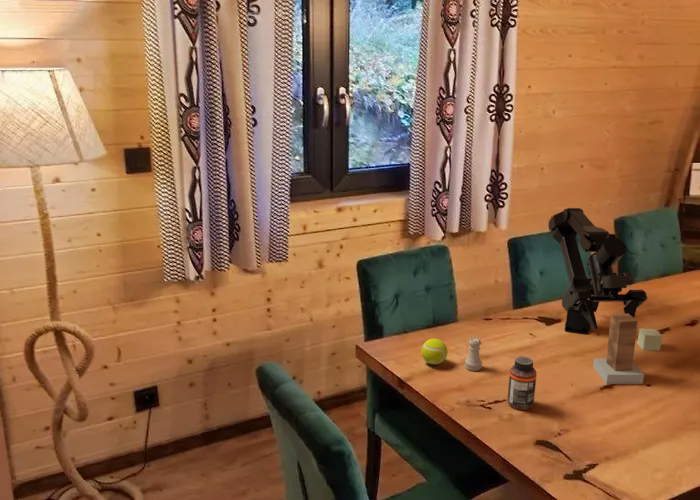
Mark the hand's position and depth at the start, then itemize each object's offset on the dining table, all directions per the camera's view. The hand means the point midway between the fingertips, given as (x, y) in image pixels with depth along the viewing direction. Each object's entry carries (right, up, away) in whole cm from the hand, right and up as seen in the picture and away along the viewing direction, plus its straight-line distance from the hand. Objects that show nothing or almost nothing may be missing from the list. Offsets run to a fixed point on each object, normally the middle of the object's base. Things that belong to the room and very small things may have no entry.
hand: (613, 329), depth 174 cm
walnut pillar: (0, -9, -3) cm, 9 cm away
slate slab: (0, -12, -2) cm, 12 cm away
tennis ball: (-46, -9, +3) cm, 47 cm away
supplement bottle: (-28, -16, -17) cm, 36 cm away
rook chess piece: (-36, -10, +1) cm, 37 cm away
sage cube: (+15, -7, +14) cm, 22 cm away
